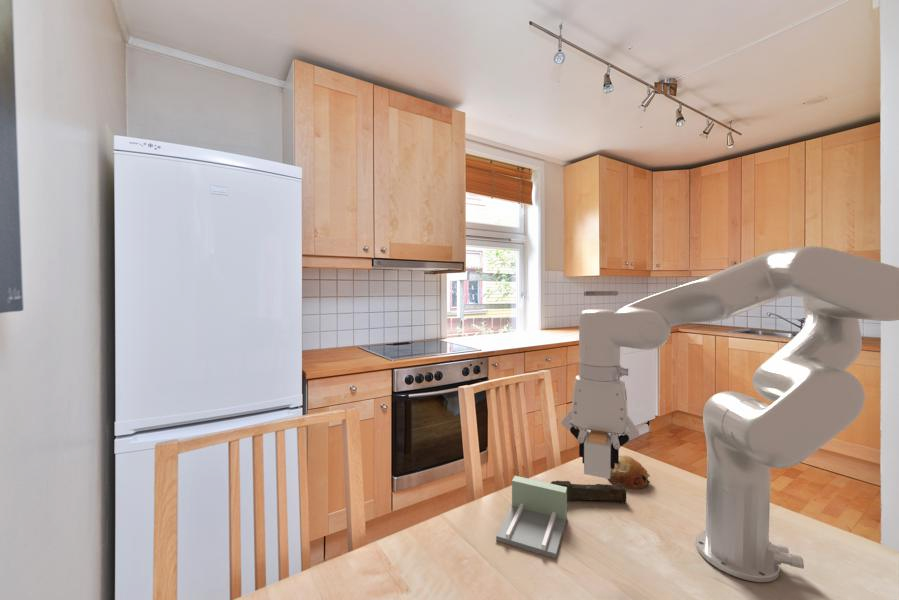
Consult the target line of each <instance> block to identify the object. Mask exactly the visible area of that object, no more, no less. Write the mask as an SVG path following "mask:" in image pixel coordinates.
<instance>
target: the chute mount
mask: <svg viewBox="0 0 899 600" xmlns="http://www.w3.org/2000/svg"><path fill="white" fill-rule="evenodd" d="M550 483H551V482H546V481H540V480H536V479H531V478H529V477H523V476H520V475H519V476H518V475H514V476H513V478H512V480H511V507H510V509H509V511H508V513H507V515H506V516H505V518H504V521H503V522H502V524H501V526H500V528H499V530H498V532H497V533H496V535H495V536H496V538H495V540H496V542H500V543H502V544H507V545H509V546H512V547H515V548H516V547H517V548H519V549H522V550H526V551H529V552H532V553H536V554H539V555H542V556H546V557H548V558H551V559H552V558H553V559H557V556H558V553H559V549H560V546H561V541H562V538H563V534H564V530H565V526H566V523H567V518H568V502H567V487H564V486H559V485H555V484H550Z"/></svg>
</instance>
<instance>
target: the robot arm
mask: <svg viewBox="0 0 899 600" xmlns="http://www.w3.org/2000/svg"><path fill="white" fill-rule="evenodd" d="M787 297H800V298H801V297H802V303H803V308H804V323H803V325H802V328H801V330H800V331H798V333H796V335H795V336H793V338H791V340H790V341H788V342H787V343H786V344H784V346H783V347H781V348H780V349H779V350H777V351H776V352H775V353H774V354H772V355H771V356H770V357H769V358H767V359H766V360H765V361H764V362H763V363H762V364H760V365H759V366H758V368H756V370H755V371H754V373H753V376H752V379H751V383H752V387H753V388H754V390H755V391H756V393H758V394H759V396H761V397H762V398H764V399H765V400H767V401H770V402H771V404H768V403H766V402H764V401H761V400H759V399H757V398H755V397H753V396H750V395H748V394H745V393H742V392H738V391H731V390H728V391H721V392H717V393H716V394H713V395H711V397H710V398H708V399H707V401H706V402H705V404H704V407H703V411H702V422H703V423H702V424H703V429H704V434H705V440H706V441H705V442H706V443H705V444H706V455H707V457H706V462H707V463H706V491H705V492H706V493H705V494H706V496H705V497H706V498H705V500H706V501H705V502H706V503H705V506H706V507H705V510H706V511H705V530H704V531H701V532H700V533H698V534H697V535H696V538H695V545H696V549H697V551H698V552H699V554H700V555H701V556H702V557H703V559H705V560H706V561H707V562H708V563H709V564H711V565H712V566H713V567H715V568H717V569H719V571H720V570H721V571H722V572H724V573H726V574H728V575H730V576H733V577H736V578H738V579H742V580H745V581H750V582H754V583H768V582H773V581H775V580H776V579H778V577H779V575H780V566H782V564H783V565H787V566H788V565H789V566H791V567H794V568H799V569H802V570H803V569H804V568H805V562H804V559H803V557H802V556H801V555H798V554H794V553H790V550H789V548H788V547H787V546H784V545H780V544H778V545H777V544H774V543H772V542H771V541H770V540H769V539H770V513H771V511H770V509H771V506H770V504H771V485H772V484H771V482H772V481H771V480H772V479H771V478H772V477H771V468H772V469H786V468H790V467H793V466H796V465H799V464H800V463H802V462H804V461H806V459H808V458H809V457H811V456H812V455H813V454H815V453H816V452H817V451H819V450H820V449H821V448H823V447H824V446H825V445H826V444H828V443H829V442H830V441H832V439H834V438H835V437H837V435H839V434H840V433H842V432H843V431H845V430H846V429H847V428H848V427H849V426H850V425H852V423H854V422H855V421H856V420H857V419H858V418H859V416H860V414H861V412H862V411H863V409H864V406H865V401H866V393H865V389H864V387H863V385H862V383H861V381H860V380H859V379H858V378H857V377H856V376H855V375H853V374H852V373H850V371H848V370H846V369H848V368H849V367H850V366H851V365H852V364H853V363H854V362H855V361H856V360H857V358H858V357H859V356H860V354H861V351H862V349H863V348H862V347H863V340H862V339H863V337H862V333H861V328H860V327H861V326H860V321H859V320H866V321H867V320H868V321H879V322H893V321H894V322H895V321H899V266H898V267H897V266H894V265H891V264H887V263H884V262H880V261H876V260H873V259H869V258H867V257H866V258H865V257H862V256H859V255H855V254H852V253H849V252H845V251H841V250H839V249H834V248H828V247H825V246H815V245H808V246H800V247H793V248H786V249H785V248H784V249H776V250H773V251H768V252H765V253H763V254H760V255H758V256H755V257H753V258H749V259H748V260H745V261H742V262H740V263H737V264H735V265H732V266H731V267H730V266H729V267H728V268H726V269H723V270H720V271H718V272H715V273H713V274H711V275H707V276H705V277H703V278H700V279H697V280H694V281H693V280H692V281H691V282H687V283H684V284H683V285H679V286H677V287H673V288H670V289H667V290H664V291H661V292H657V293H655V294H653V295H649V296H647V297H644V298H642V299H639V300H637V301H635V302H634V301H633V302H632V303H629V304H627V305H625V306H623V307H622V308H619V309H618V310H617V311H616V310H613V309H596V308H595V309H593V308H592V309H585V310H582V311H581V312H580V314H579V320H578V343H579V344H578V357H579V358H578V375H576V376H575V377H574V378H575V379H574V385H573V389H572V390H573V391H572V398H571V399H572V401H571V402H572V403H571V409H570V410H569V411H568V413H567V414H566V415H565V416H564V417H563V418H562V420H561V425H562V426H563V427H565V429H567V430H568V431H569V432H570V434H571V435H573V437H574V438H576V440H577V442H578V445H579V446H578V454H579V455H578V456H579V458H582V464H584V442H585V438H586V434H587V431H588V430H594V431H600V432H607V433H610V435H611V439H612V444H611V469H614V467H615V463H617V464H619V456H620V455H619V454H620V452H619V450H620V449H621V447H622V446H624V445H625V444H626V443H628V442H629V441H630V440H633V439H635V438H638V437H639V436H640V430H639V429H638V427H637V426H636V425H635V423H634V422H633V420H632V419H631V418H630V416H629V415H628V399H627V398H628V396H627V388H626V384H625V383H626V382H625V379H622V377H626V376H628V377H629V368H625V367H623V366H622V365H621V348H629V349H636V350H648V351H650V350H654V349H658V348H660V347H662V346H663V345H665V344H666V343H667V342H668V341H669V339H670V336H671V329H672V328H671V327H675V326H678V325H685V324H692V323H694V324H695V323H709V322H717V321H721V320H728V319H730V318H733V317H736V316H737V315H741V314H743V313H745V312H748V311H750V310H753V309H756V308H758V307H761V306H764V305H766V304H770V303H772V302H774V301H776V300H780V299H782V298H787ZM627 429H628V430H627Z"/></svg>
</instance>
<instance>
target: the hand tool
mask: <svg viewBox="0 0 899 600" xmlns="http://www.w3.org/2000/svg"><path fill="white" fill-rule="evenodd" d="M549 483H550V484H555V485H559V486H564V487H567V503H571V501H576V500H577V501H608V502H609V501H610V502H614V501H616V502H617V501H619V502H622V503H623V504H626V503H627V489H626V487H624V486H623V484H620V483H619V484H604V483H596V484H583V483H582V484H578V483H571V481H570V480H552V481H551V482H549Z"/></svg>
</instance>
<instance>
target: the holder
mask: <svg viewBox="0 0 899 600" xmlns="http://www.w3.org/2000/svg"><path fill="white" fill-rule="evenodd" d="M585 436H586V438H585V442H584V463H583V475H587V476H593V477H598V478H603V479H608V480H609V479H610V473H611V444H612V439H611V435H610V433H607V432H600V431H594V430H587V431H586V435H585Z"/></svg>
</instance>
